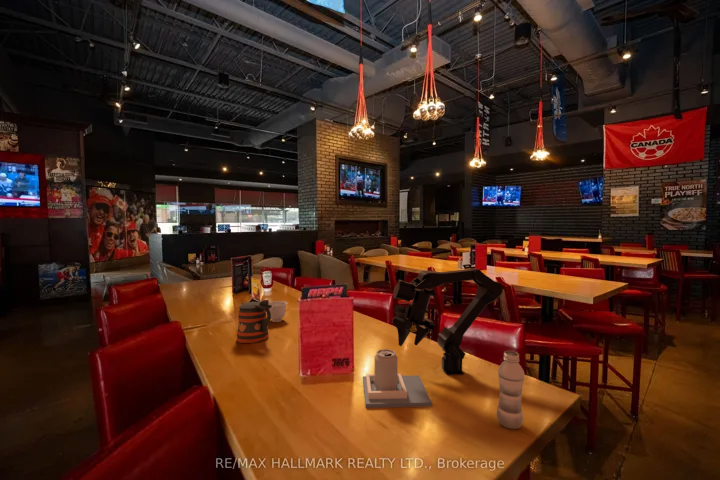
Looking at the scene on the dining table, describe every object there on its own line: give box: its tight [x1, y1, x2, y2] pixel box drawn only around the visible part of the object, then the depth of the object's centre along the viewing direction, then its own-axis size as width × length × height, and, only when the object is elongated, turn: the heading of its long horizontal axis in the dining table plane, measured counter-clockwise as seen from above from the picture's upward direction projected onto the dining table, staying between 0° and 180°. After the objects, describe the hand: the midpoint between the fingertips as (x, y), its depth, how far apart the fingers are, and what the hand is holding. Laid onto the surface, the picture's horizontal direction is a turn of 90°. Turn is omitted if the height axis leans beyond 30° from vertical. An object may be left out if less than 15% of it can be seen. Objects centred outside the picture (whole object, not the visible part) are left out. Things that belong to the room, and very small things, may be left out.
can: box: [374, 348, 399, 391], centre depth 102 cm, size 8×8×12 cm
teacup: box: [269, 300, 288, 323], centre depth 177 cm, size 12×15×10 cm
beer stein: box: [236, 299, 272, 344], centre depth 150 cm, size 19×15×20 cm
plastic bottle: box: [495, 350, 526, 430], centre depth 86 cm, size 6×7×20 cm
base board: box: [362, 373, 433, 409], centre depth 103 cm, size 20×17×3 cm
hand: (407, 345), depth 115 cm, fingers open, 9 cm apart
